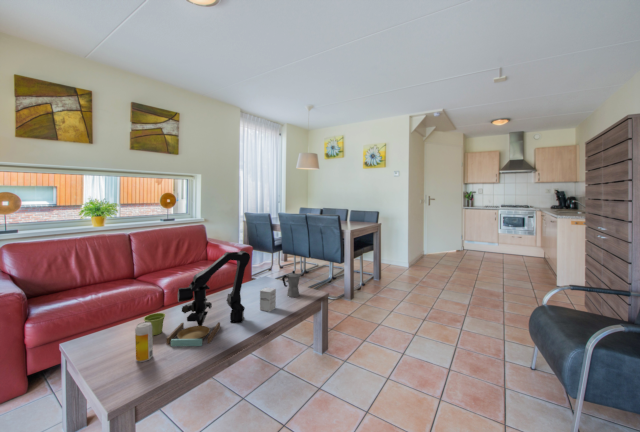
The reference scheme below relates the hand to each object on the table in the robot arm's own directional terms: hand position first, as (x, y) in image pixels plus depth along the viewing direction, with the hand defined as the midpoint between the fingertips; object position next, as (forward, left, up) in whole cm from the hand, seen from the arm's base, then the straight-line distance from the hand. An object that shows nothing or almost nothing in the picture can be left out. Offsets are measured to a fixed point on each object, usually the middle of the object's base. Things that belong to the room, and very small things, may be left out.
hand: (200, 327), depth 144 cm
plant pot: (+21, +4, -1) cm, 21 cm away
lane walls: (0, +7, -1) cm, 7 cm away
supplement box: (-32, -26, -1) cm, 41 cm away
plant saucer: (0, +8, -1) cm, 9 cm away
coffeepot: (-46, -50, -1) cm, 68 cm away
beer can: (+13, +27, -1) cm, 30 cm away
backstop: (0, +17, -1) cm, 17 cm away
